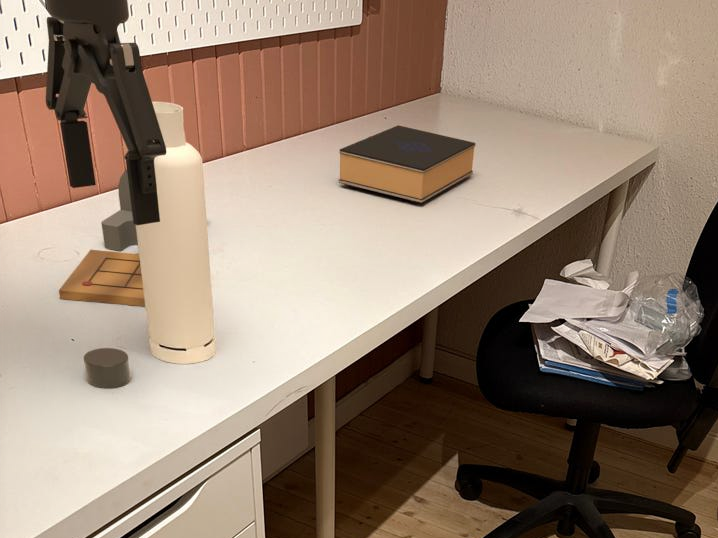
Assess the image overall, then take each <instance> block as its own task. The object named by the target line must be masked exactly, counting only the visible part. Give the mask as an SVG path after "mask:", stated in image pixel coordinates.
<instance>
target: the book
mask: <svg viewBox="0 0 718 538" xmlns="http://www.w3.org/2000/svg"><path fill="white" fill-rule="evenodd" d="M475 148H476V142H473V141H469V140H465V139H461V138H456V137H452V136H447V135H442V134H439V133H435V132H429V131H425V130H421V129H416V128H411V127H409V126H408V127H407V126H403V125H396V126H393V127H391V128H388V129H386V130H383V131H381V132H379V133H376V134H373V135H371V136H368V137H366V138H364V139H361V140H358V141H356V142H354V143H352V144H349V145H347V146H345V147H342V148H340V149H339V179H338V183H339V184H341V185H342V184H343V185H345V186H350V187H352V188H353V189H363V190H367V191H371V192H375V193H379V194H384V195H387V196H391V197H395V198H399V199H404V200H407V201H409V202H410V203H413V204H414V203H419V204H423V203H424V202H426V201H428V200H429V199H432V198H433V197H435V196H436V195H438V194H440V193H442V192H443V191H446V190H447V189H449V188H450V187H452V186H454V185H456V184H458V183H460V182H461V181H463V180H464V179H466V178H468V177H470V176H471V175H473V172H474V170H473V166H474V165H473V164H474V156H475V155H474V154H475Z"/></svg>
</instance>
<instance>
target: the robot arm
mask: <svg viewBox="0 0 718 538" xmlns="http://www.w3.org/2000/svg"><path fill="white" fill-rule="evenodd" d="M45 4H46V9H47V13H48V14H49V15H50V16H47V17H46V27H47V36H48V46H47V47H48V49H47V65H46V67H47V69H46V82H45V83H46V85H45V105H46V107H47V109H48V110H49V111H54V115H55V118H56V119H57V121H58V122H59V126H60V131H61V137H62V144H63V151H64V156H65V163H66V170H67V176H68V182H69V187H71V188H72V189H78V188H84V187H93V186H97V184H96V176H95V169H94V162H93V155H92V149H91V141H90V135H89V126H88V122H87V121H85V120H83V119H88V115H87V113H86V111H85V106H86V103H87V99H88V96H89V93H90V89H91V86H92V84H93V85H94V87H95V88H96V90H97V92H98V93H100V94H102V95H103V96H104V98H105V100H106V102H107V105H108V107H109V109H110V112H111V114H112V116H113V119H114V121H115V123H116V125H117V128H118V130H119V132H120V134H121V137H122V139H123V142H124V144H125V146H126V148H127V152H126V153H125V155H124V156H123V158H124V159H125V165H126V166H125V167H126V170H127V174H128V182H129V191H130V199H131V207H132V215H133V223H134V224H136V225H143V224H149V223H155V222H160V215H159V206H158V196H157V185H156V176H155V166H154V159H155V157H157V156H161V155H166V146H165V143H164V140H163V136H162V133H161V130H160V127H159V123H158V120H157V117H156V113H155V110H154V107H153V104H152V102H153V101H152V98H151V94H150V92H149V91H150V90H149V88H148V85H147V81H146V77H145V74H144V70H143V66H142V59H141V54H140V48H139V45H138V43H136V42H121V39H120V36H119V35H120V34H119V32H118V27H119V25H121V24H124V23H126V22H127V21H128V20H129V18H130V12H129V3H128V0H45ZM57 95H58V96H57ZM153 140H154V141H153Z"/></svg>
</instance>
